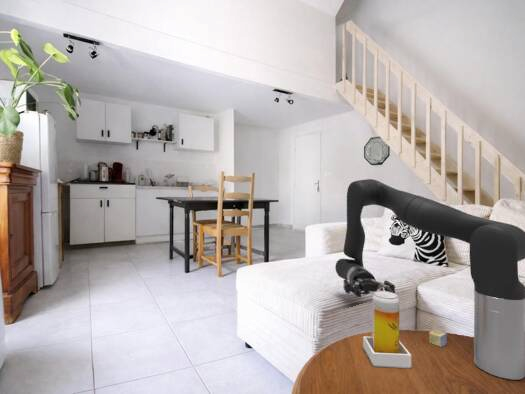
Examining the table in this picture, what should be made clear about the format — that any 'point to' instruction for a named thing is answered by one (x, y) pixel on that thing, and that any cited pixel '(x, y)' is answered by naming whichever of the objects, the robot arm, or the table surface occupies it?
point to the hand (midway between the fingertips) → (375, 294)
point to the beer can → (385, 322)
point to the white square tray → (387, 356)
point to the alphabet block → (437, 338)
